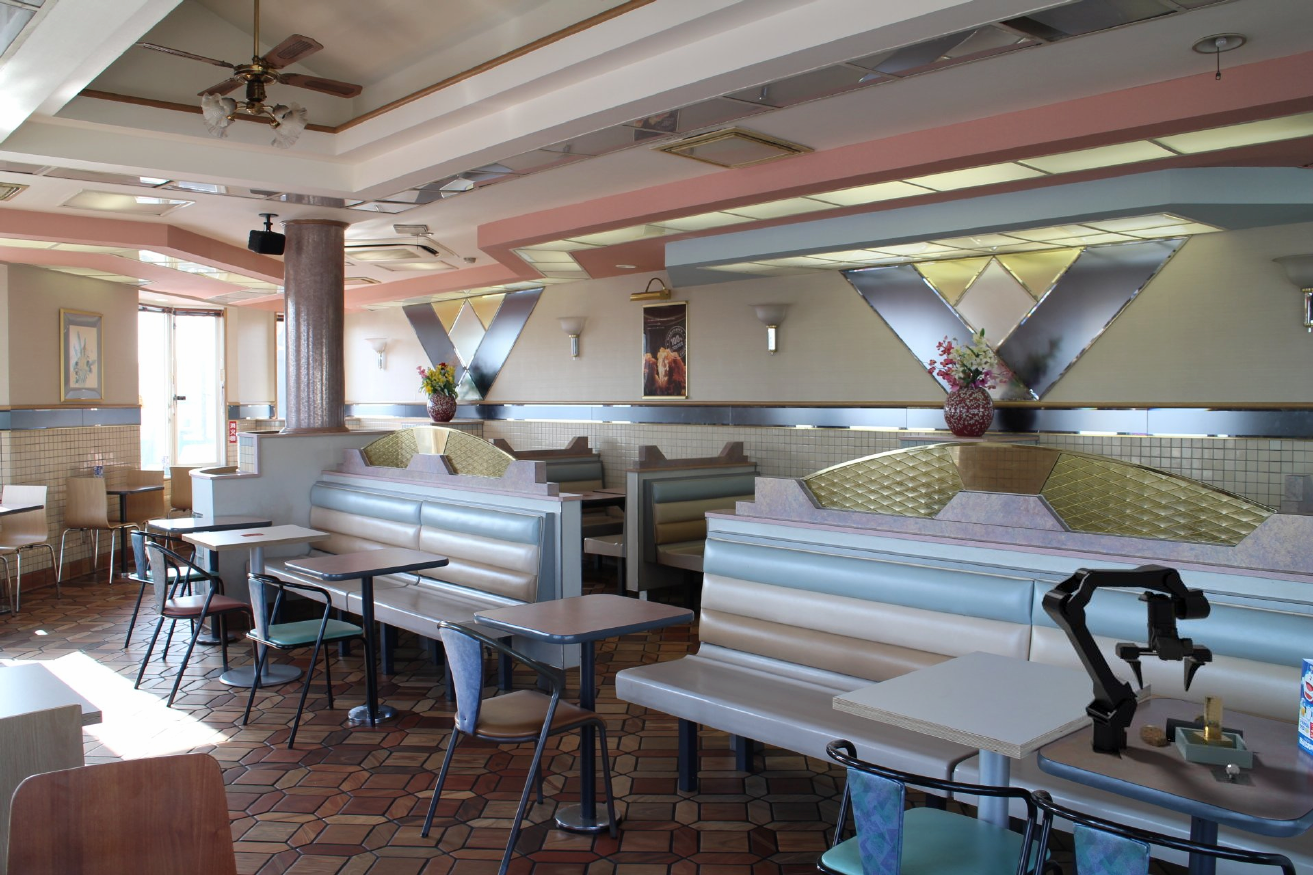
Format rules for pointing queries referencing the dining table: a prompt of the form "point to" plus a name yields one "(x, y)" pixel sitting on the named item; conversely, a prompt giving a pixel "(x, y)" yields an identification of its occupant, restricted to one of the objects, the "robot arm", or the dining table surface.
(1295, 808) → the dining table surface
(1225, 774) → the plate
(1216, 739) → the gold trophy
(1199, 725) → the pipe connector
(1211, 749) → the bin
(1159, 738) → the ice cream bar
